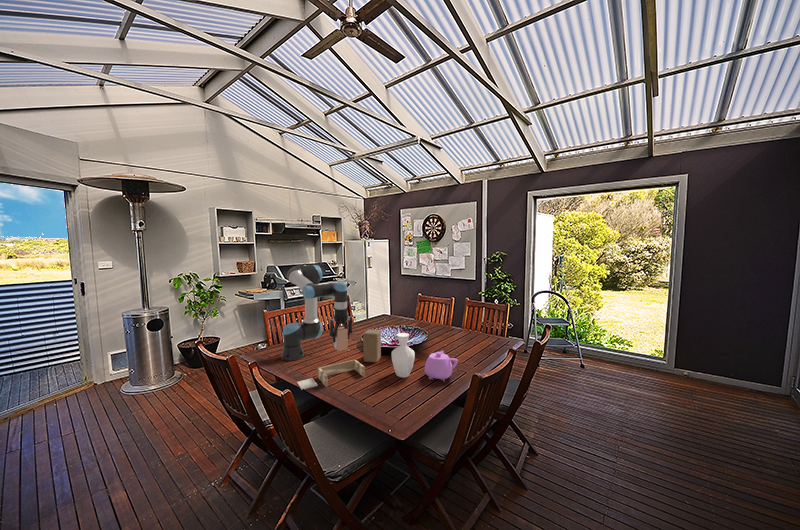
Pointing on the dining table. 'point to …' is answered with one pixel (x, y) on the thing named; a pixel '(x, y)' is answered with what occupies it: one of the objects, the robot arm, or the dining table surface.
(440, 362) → the teapot
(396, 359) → the vase
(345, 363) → the frame
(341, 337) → the terracotta block
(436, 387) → the dining table surface
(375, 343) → the wooden block
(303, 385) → the white tile
